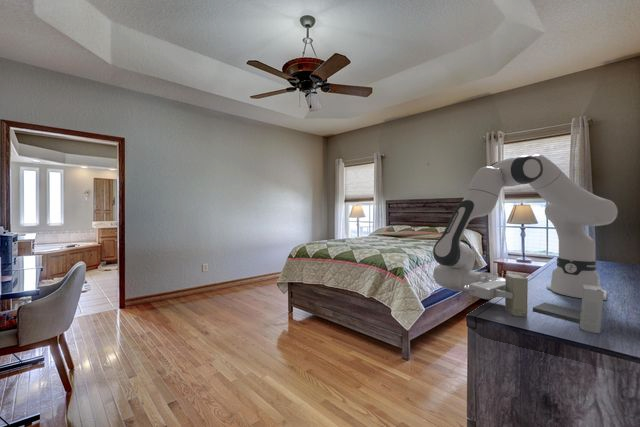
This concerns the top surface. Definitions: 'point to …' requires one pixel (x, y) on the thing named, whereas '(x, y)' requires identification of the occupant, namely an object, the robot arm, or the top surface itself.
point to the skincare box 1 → (516, 294)
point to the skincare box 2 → (591, 308)
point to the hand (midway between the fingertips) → (519, 293)
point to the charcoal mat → (558, 311)
